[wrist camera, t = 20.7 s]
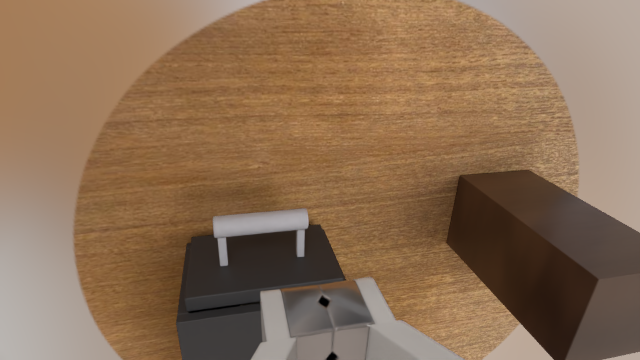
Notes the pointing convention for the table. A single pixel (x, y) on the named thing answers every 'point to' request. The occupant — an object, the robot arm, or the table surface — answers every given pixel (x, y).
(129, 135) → the table surface
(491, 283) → the stand
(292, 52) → the table surface
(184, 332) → the dark box sleeve
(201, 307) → the drawer
